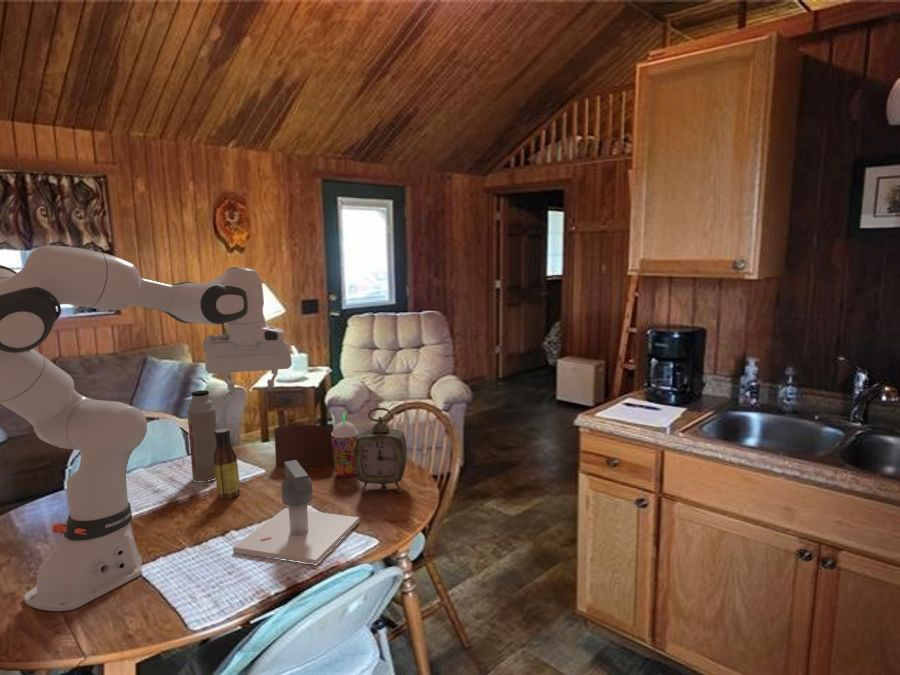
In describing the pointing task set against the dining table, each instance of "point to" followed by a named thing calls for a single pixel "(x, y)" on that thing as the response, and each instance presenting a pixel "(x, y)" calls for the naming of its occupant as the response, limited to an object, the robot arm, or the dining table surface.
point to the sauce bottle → (226, 466)
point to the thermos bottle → (202, 436)
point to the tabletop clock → (380, 454)
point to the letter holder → (304, 445)
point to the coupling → (296, 485)
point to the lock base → (297, 535)
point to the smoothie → (344, 447)
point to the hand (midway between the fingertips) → (251, 388)
